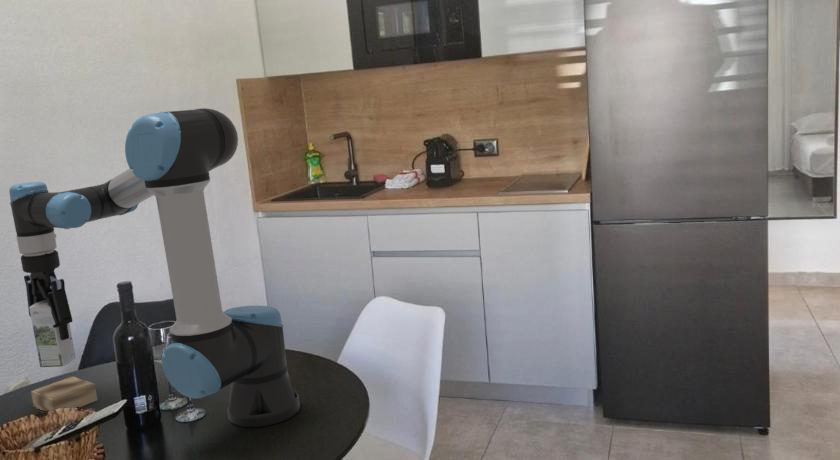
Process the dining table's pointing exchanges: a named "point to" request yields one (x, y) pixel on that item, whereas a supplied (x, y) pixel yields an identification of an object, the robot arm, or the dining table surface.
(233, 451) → the dining table surface
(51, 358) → the syrup box
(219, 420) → the dining table surface
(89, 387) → the oak riser block
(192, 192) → the robot arm
